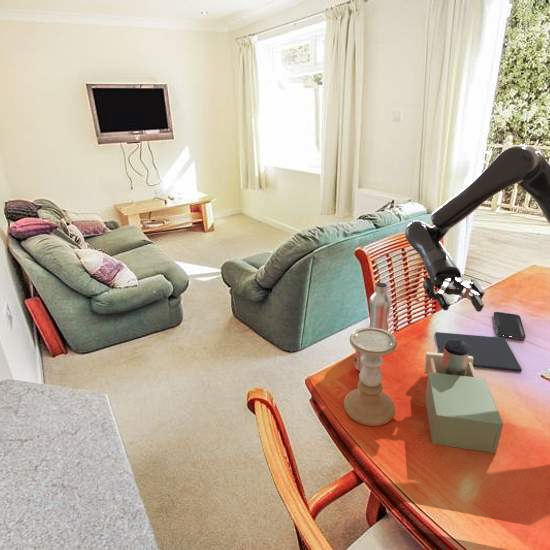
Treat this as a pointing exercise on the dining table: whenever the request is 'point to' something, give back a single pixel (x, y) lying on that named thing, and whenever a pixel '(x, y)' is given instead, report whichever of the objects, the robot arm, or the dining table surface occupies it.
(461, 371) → the canister
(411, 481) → the dining table surface
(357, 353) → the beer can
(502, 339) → the mat
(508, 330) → the phone
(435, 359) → the drawer
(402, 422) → the dining table surface
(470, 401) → the cabinet
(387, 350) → the candle holder
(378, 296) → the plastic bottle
